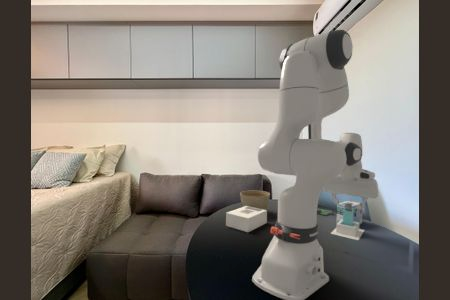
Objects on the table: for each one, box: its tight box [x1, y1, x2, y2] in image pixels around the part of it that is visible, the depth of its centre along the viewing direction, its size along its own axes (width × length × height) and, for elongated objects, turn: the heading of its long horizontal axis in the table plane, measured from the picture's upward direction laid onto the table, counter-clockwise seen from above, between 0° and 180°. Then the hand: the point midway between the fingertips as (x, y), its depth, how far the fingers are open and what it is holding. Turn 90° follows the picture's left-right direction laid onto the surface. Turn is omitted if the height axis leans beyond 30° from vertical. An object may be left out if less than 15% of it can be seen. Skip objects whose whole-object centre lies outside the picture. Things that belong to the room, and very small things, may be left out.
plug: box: [343, 204, 353, 227], centre depth 96 cm, size 4×3×12 cm
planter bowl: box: [239, 189, 271, 210], centre depth 126 cm, size 16×16×11 cm
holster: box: [330, 219, 365, 241], centre depth 96 cm, size 14×10×5 cm
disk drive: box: [317, 207, 334, 217], centre depth 126 cm, size 10×3×15 cm
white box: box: [225, 206, 268, 233], centre depth 108 cm, size 16×12×6 cm
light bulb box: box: [336, 200, 364, 225], centre depth 108 cm, size 11×7×11 cm, turn 123°
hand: (348, 205), depth 97 cm, fingers open, 8 cm apart
